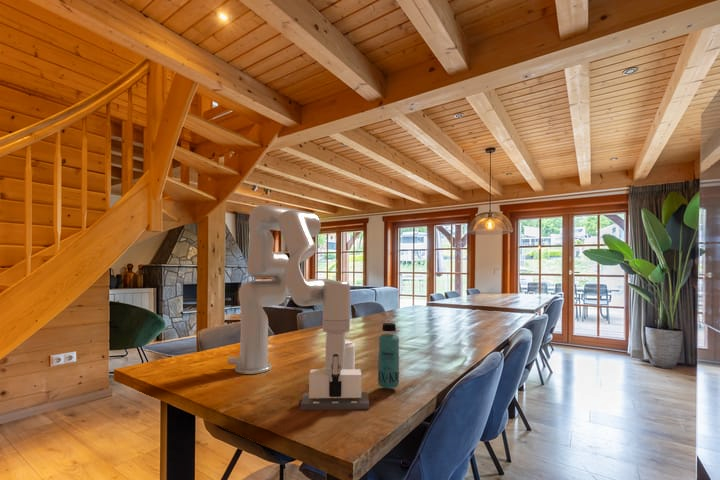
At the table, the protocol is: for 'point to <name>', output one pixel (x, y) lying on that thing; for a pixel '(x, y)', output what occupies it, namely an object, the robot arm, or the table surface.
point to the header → (334, 403)
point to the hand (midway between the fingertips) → (335, 391)
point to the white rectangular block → (348, 380)
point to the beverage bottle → (388, 358)
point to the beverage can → (349, 355)
